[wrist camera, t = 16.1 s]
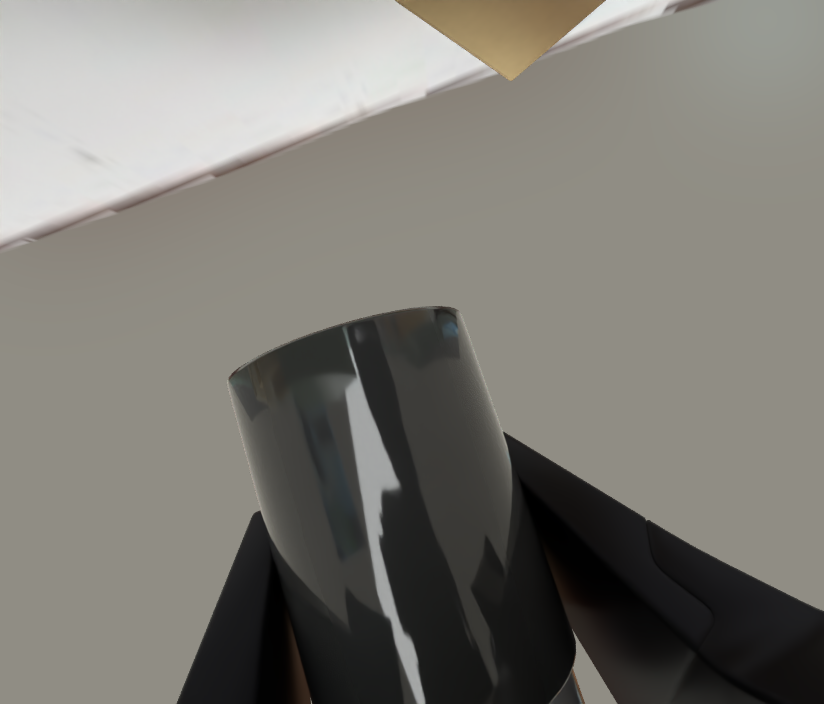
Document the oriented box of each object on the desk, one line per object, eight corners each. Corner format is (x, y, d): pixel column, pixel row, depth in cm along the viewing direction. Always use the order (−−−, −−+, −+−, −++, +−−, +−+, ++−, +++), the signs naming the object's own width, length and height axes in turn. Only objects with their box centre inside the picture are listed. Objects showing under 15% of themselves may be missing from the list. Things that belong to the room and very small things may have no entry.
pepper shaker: (406, 287, 6) (609, 890, 5) (484, 317, 10) (605, 655, 9) (166, 394, 8) (285, 877, 7) (318, 383, 12) (406, 679, 11)
